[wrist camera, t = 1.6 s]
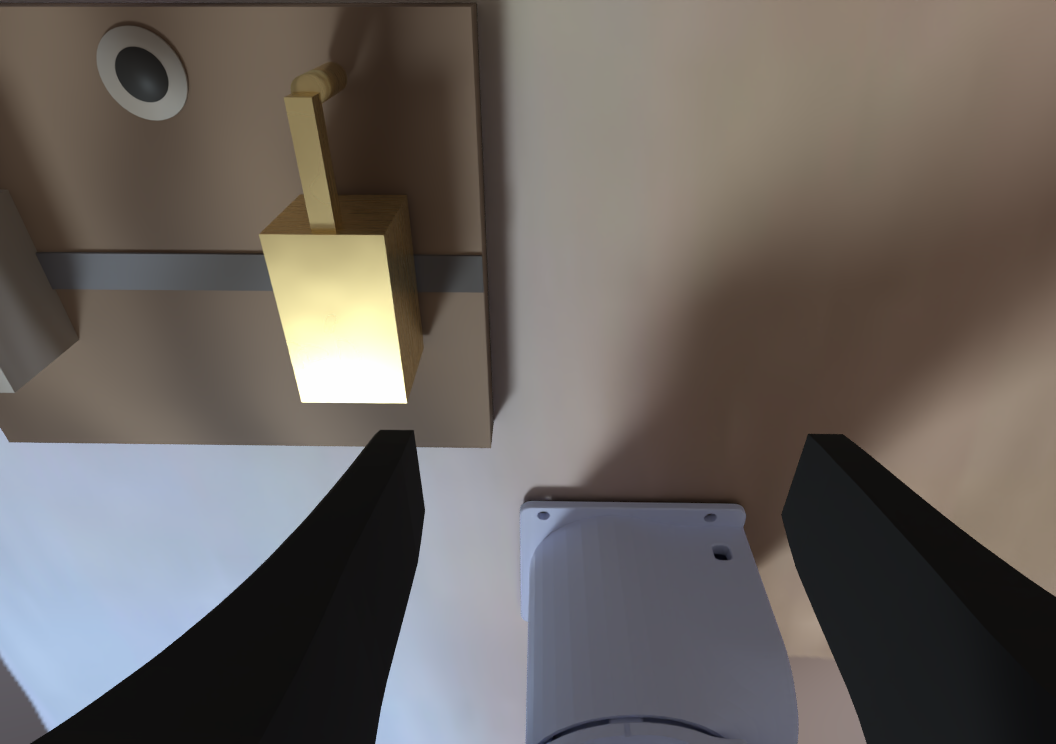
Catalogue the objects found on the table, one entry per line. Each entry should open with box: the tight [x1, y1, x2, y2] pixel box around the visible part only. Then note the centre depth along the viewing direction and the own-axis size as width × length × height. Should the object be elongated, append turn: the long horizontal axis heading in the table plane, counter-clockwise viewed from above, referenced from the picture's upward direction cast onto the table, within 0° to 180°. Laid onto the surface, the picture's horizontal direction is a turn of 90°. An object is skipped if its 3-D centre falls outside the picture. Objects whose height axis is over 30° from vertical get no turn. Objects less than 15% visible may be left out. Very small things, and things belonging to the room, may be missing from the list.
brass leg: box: [259, 62, 424, 403], centre depth 16 cm, size 3×8×3 cm, turn 0°
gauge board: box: [0, 3, 494, 448], centre depth 18 cm, size 18×14×4 cm
